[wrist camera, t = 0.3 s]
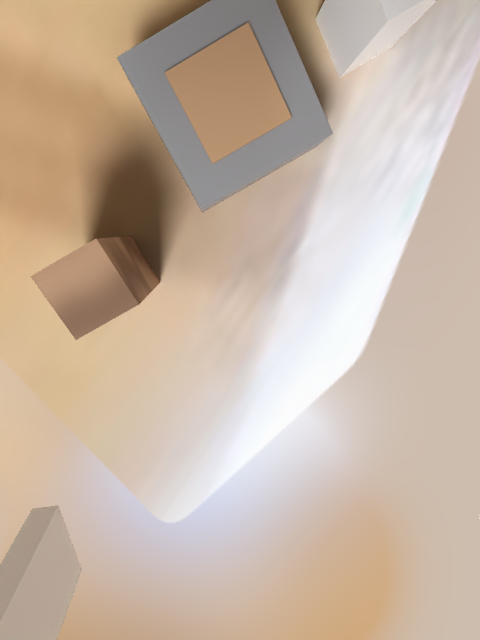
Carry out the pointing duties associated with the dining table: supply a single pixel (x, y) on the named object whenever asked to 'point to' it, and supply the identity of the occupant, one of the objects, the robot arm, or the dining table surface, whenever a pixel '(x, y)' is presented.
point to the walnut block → (97, 283)
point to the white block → (365, 28)
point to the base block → (227, 95)
